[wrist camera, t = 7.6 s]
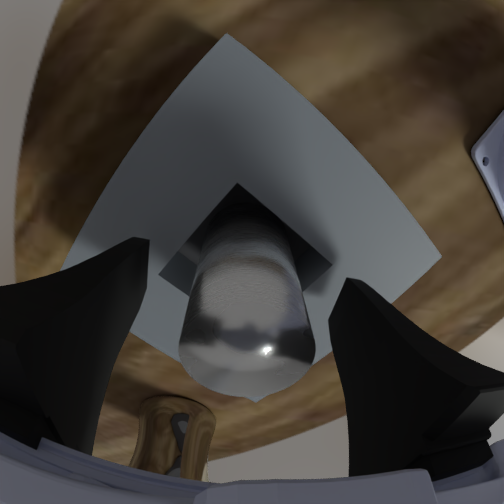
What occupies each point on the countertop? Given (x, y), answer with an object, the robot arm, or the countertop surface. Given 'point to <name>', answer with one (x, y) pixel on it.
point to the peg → (246, 308)
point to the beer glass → (174, 438)
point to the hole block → (251, 195)
